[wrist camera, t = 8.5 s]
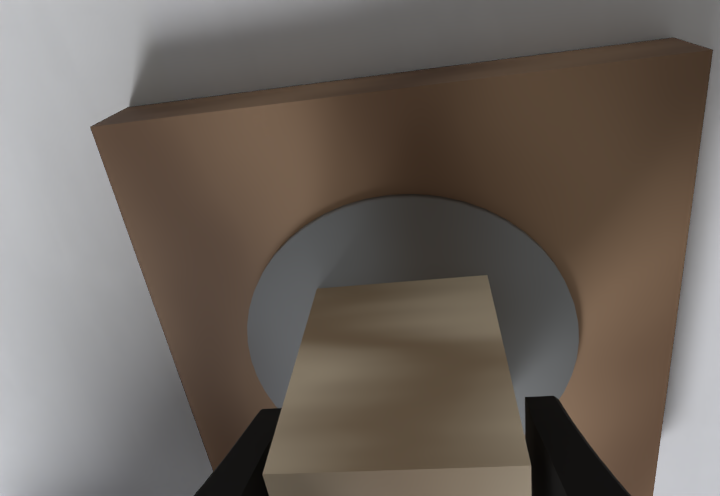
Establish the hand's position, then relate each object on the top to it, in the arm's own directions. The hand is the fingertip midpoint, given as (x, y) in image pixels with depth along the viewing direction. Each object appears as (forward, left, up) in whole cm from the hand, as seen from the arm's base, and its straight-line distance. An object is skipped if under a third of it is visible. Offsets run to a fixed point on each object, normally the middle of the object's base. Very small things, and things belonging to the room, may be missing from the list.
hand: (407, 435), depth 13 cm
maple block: (0, 0, -3) cm, 3 cm away
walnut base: (0, 0, -5) cm, 5 cm away
